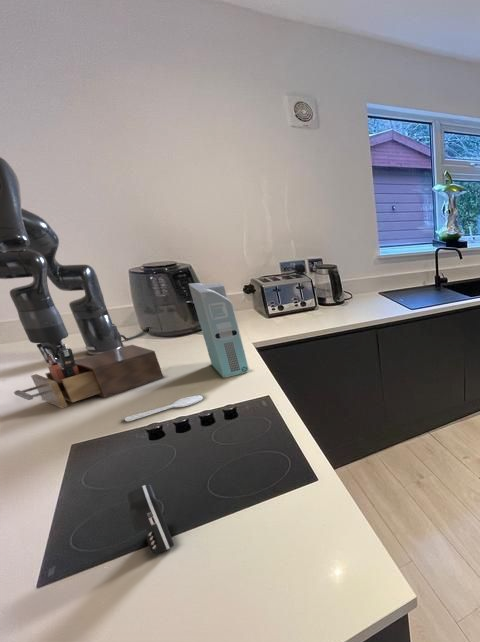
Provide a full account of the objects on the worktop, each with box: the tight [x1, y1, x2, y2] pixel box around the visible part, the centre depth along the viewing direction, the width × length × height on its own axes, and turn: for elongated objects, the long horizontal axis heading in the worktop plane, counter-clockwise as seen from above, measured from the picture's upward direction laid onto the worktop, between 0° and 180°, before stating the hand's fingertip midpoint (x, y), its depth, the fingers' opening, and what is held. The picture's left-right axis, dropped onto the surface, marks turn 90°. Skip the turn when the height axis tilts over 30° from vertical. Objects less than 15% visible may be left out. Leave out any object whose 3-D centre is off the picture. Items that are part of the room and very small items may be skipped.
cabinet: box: [74, 344, 164, 398], centre depth 129 cm, size 16×13×10 cm
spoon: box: [124, 394, 204, 422], centre depth 116 cm, size 5×18×1 cm, turn 141°
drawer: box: [13, 365, 101, 409], centre depth 119 cm, size 20×12×8 cm, turn 157°
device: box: [188, 282, 250, 379], centre depth 138 cm, size 16×8×30 cm, turn 47°
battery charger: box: [124, 483, 175, 555], centre depth 71 cm, size 7×4×11 cm, turn 48°
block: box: [47, 362, 80, 383], centre depth 117 cm, size 4×4×4 cm
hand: (67, 377), depth 118 cm, fingers closed on block, 4 cm apart
